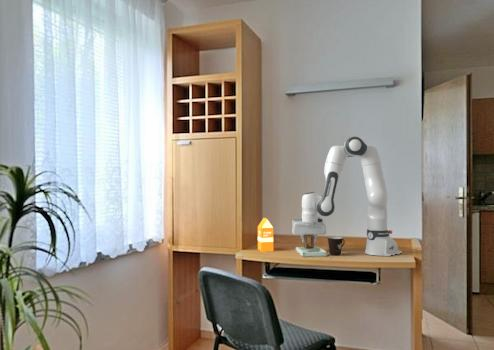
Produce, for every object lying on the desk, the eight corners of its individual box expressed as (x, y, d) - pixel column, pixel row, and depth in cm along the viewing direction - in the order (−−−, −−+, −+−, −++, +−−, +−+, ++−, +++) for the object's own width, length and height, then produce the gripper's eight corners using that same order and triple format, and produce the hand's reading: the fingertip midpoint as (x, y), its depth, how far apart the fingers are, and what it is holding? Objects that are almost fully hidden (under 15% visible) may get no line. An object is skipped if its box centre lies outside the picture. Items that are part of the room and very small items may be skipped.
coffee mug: (331, 256, 242) (331, 239, 242) (325, 253, 251) (325, 236, 251) (350, 255, 244) (350, 238, 244) (343, 253, 253) (343, 236, 253)
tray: (318, 250, 261) (318, 246, 261) (327, 256, 243) (327, 252, 243) (295, 251, 260) (295, 247, 260) (303, 256, 241) (303, 252, 241)
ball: (309, 246, 257) (310, 241, 256) (312, 248, 255) (313, 244, 254) (305, 246, 256) (307, 241, 255) (308, 248, 254) (309, 244, 253)
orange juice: (261, 252, 257) (261, 219, 257) (257, 249, 266) (257, 217, 266) (273, 251, 259) (273, 218, 259) (269, 249, 268) (269, 217, 268)
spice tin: (311, 247, 258) (311, 234, 258) (314, 248, 253) (314, 235, 253) (303, 247, 258) (303, 234, 258) (305, 248, 253) (305, 235, 253)
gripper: (293, 219, 251) (293, 243, 251) (326, 219, 253) (326, 242, 253) (290, 218, 257) (290, 241, 257) (323, 218, 259) (323, 241, 259)
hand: (309, 242), depth 255 cm, fingers closed on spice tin, 5 cm apart
